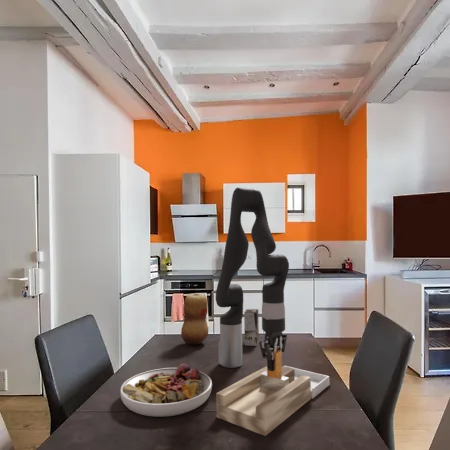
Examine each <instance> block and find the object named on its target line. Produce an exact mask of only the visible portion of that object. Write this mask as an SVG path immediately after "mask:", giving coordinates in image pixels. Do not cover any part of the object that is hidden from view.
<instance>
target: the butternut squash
mask: <svg viewBox="0 0 450 450" xmlns="http://www.w3.org/2000/svg"><path fill="white" fill-rule="evenodd" d="M207 315H208V298H207V296H205V295H204V294H203V293H197V292H195V293H188V295H186V296H185V299H184V302H183V318H184V319H183V324H182V327H181V330H180V331H181V332H180V333H181V334H180V335H181V338H182V341H183V342H184V343H185V344H187V345H200V344H201V343H202V342H204V341H205V340H206V339H207V338H208V336H209V325H208V322H207Z"/></svg>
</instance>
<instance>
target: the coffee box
mask: <svg viewBox="0 0 450 450" xmlns="http://www.w3.org/2000/svg"><path fill="white" fill-rule="evenodd" d="M243 314H244V315H243V316H244V317H243V318H244V325H243V327H244V330H243V331H244V346H253V347H255V346H256V347H257V346H258V344H259V343H260V329H259V309H255V308H253V309H251V308H250V309H249V308H248V309H246V310H245V311H243Z"/></svg>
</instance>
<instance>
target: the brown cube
mask: <svg viewBox="0 0 450 450" xmlns="http://www.w3.org/2000/svg"><path fill="white" fill-rule="evenodd" d="M283 366H284V367H283ZM283 366H282V371H285V372H289V384H290V383H291V382H293V381H294V380H295V375H294V369H293V368H294V367H293V368H289V367H290V366H289V367H285V366H286V365H283Z"/></svg>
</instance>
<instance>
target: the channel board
mask: <svg viewBox="0 0 450 450" xmlns="http://www.w3.org/2000/svg"><path fill="white" fill-rule="evenodd" d="M265 371H266V372H267V365H266V366H264V367H262V368H261V369H259V370H257V371H255V372H253V373H251V374H250V375H247V376H245V377H244V378H242V379H240V380H238V381H236V382H235V383H233V384H231V385H229V386H227V387H225V388H224V389H222V390H220V391H218V392H216V395H215V396H216V399H215V400H216V418H218V419H221V420H223V421H226V422H228V423H231V424H233V425H236V426H239V427H241V428H243V429H246V430H248V431H251V432H254V433H256V434H259V435H262V436H263V437H266V436H268V435H269V434H270V433H271V432H272V431H273V430H275V429H276V428H278V426H280V425H281V424H282V423H283V422H284V421H286V420H287V419H288V418H289V417H291V415H293V414H294V413H296V412H297V410H299V409H300V408H301V407H302V406H304V405H305V404H306V403H307V402H309V401H310V400H311V399H312V398H311V379H310V377H308V376H304V375H301V376H300V377H298V378H297V379H295V380H294V381H293V382H291V383H290V384H288V385H287V386H285V387H284V388H282V389H281V390H279V391H275V390H272V389H268V388H265V387H262V386H261V380H260V374H261V373H263V372H265Z"/></svg>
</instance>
